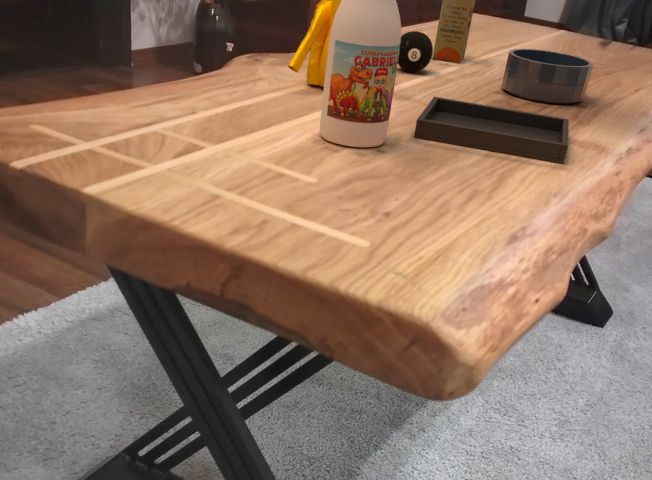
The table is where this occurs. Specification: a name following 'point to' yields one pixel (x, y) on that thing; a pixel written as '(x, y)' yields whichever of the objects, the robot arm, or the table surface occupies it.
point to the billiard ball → (415, 51)
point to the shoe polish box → (453, 30)
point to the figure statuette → (317, 43)
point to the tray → (494, 129)
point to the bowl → (546, 76)
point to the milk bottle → (361, 72)
